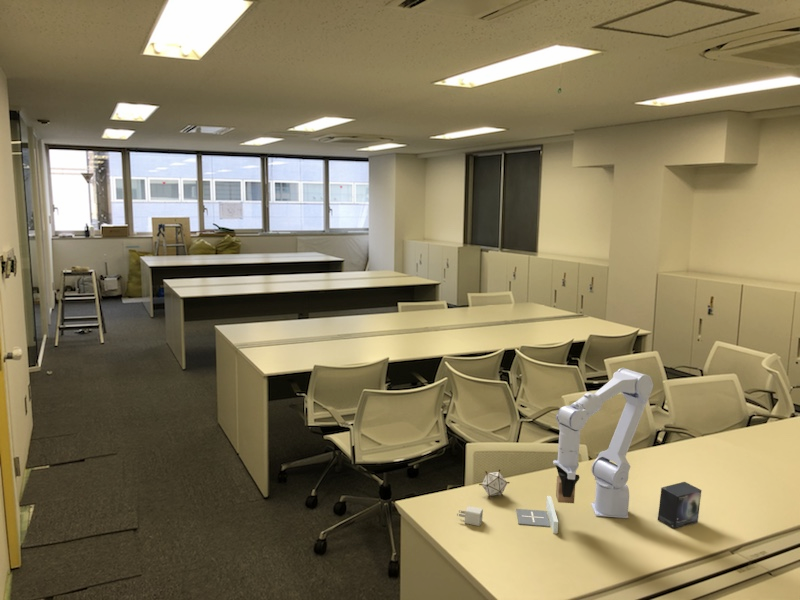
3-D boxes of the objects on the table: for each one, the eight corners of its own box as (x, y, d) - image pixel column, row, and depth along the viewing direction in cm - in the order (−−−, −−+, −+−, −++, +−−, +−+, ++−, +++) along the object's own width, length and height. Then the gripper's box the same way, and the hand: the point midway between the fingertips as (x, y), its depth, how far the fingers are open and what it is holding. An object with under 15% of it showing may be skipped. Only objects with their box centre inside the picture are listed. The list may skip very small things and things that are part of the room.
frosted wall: (550, 506, 191) (550, 496, 190) (557, 533, 175) (558, 522, 175) (546, 506, 191) (547, 495, 191) (553, 533, 175) (553, 521, 175)
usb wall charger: (479, 527, 178) (479, 514, 177) (455, 522, 180) (456, 509, 179) (482, 520, 181) (482, 508, 181) (459, 516, 184) (459, 503, 183)
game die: (498, 508, 197) (508, 493, 190) (473, 496, 198) (482, 481, 191) (504, 485, 203) (515, 470, 196) (481, 474, 204) (490, 458, 197)
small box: (675, 530, 179) (678, 496, 177) (656, 520, 184) (659, 487, 183) (699, 522, 184) (702, 489, 182) (680, 513, 189) (683, 480, 188)
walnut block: (571, 496, 182) (572, 477, 181) (574, 503, 178) (575, 483, 177) (555, 495, 182) (557, 476, 182) (558, 502, 178) (559, 482, 177)
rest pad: (546, 511, 188) (546, 510, 188) (550, 526, 179) (550, 525, 179) (516, 509, 189) (516, 508, 189) (518, 524, 180) (518, 523, 180)
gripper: (551, 437, 185) (547, 480, 187) (558, 456, 171) (555, 503, 173) (575, 439, 185) (571, 482, 187) (584, 458, 170) (580, 505, 172)
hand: (565, 492), depth 180 cm, fingers closed on walnut block, 4 cm apart
